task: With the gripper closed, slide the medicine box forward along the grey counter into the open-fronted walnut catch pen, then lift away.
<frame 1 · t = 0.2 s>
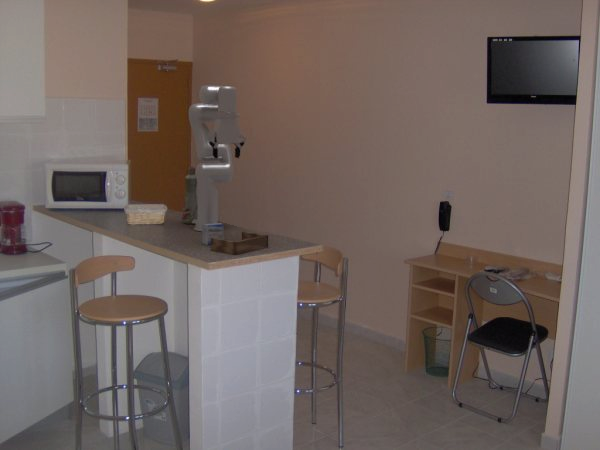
hand: (226, 157, 299), 36 cm above the countertop, tool pointing down, fingers open, 9 cm apart
catch pen: (238, 248, 295), on the countertop
medicine box: (212, 244, 303), on the countertop
bottle: (190, 223, 352), on the countertop
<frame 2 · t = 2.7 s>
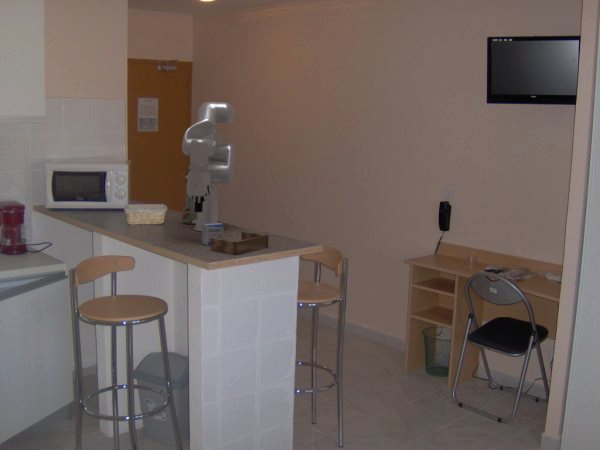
hand: (198, 211, 304), 13 cm above the countertop, tool pointing down, fingers closed
nothing on the countertop moved.
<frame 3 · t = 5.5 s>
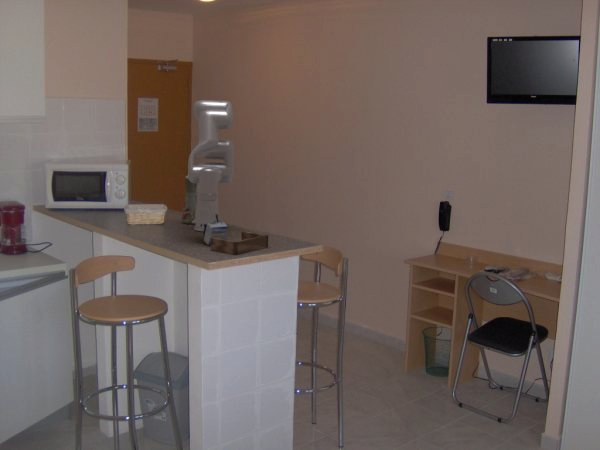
hand: (207, 240, 304), 1 cm above the countertop, tool pointing down, fingers closed
medicine box: (213, 242, 302), point 1 cm above the countertop, touching gripper
everything else where it was.
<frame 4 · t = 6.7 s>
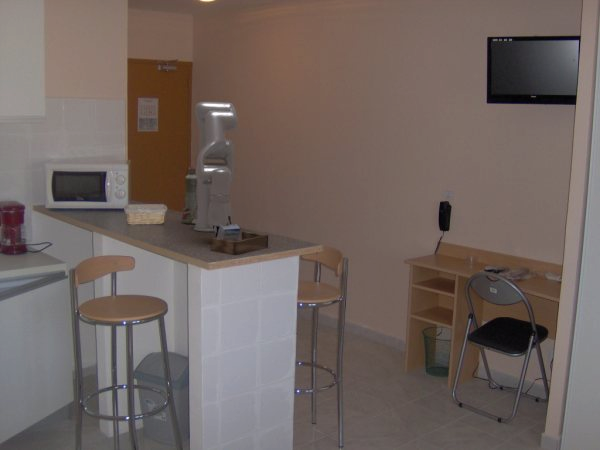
hand: (219, 242, 300), 1 cm above the countertop, tool pointing down, fingers closed
medicine box: (226, 244, 298), point 1 cm above the countertop, touching gripper
everything else where it was.
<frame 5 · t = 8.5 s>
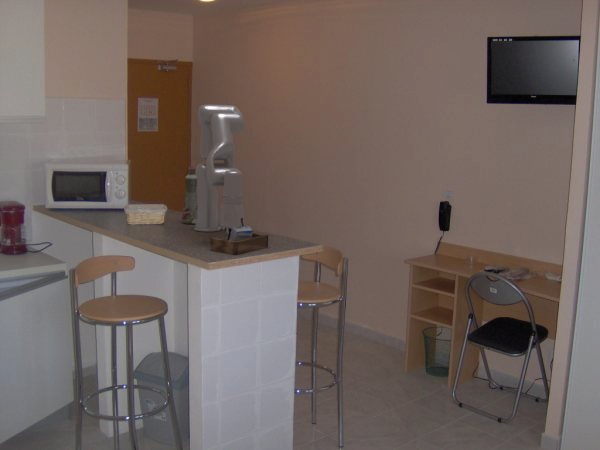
hand: (231, 244, 296), 1 cm above the countertop, tool pointing down, fingers closed
medicine box: (238, 247, 295), point 1 cm above the countertop, touching gripper
everything else where it was.
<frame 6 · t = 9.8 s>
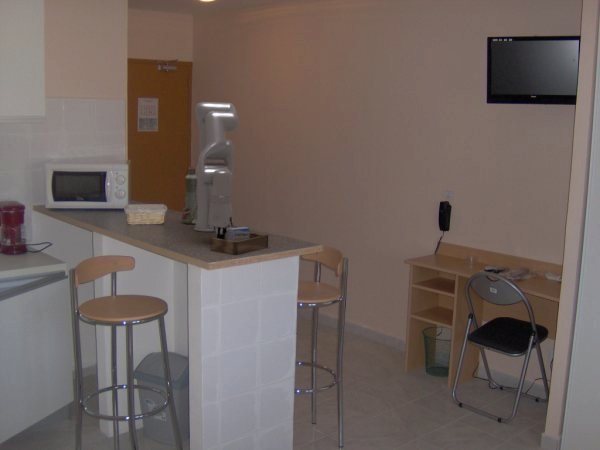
hand: (220, 243, 300), 1 cm above the countertop, tool pointing down, fingers closed
medicine box: (238, 249, 295), on the countertop
everything else where it was.
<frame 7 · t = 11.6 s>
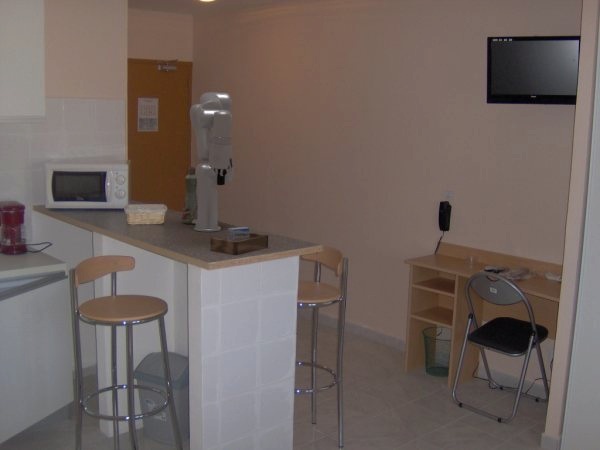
hand: (220, 184, 301), 25 cm above the countertop, tool pointing down, fingers closed
nothing on the countertop moved.
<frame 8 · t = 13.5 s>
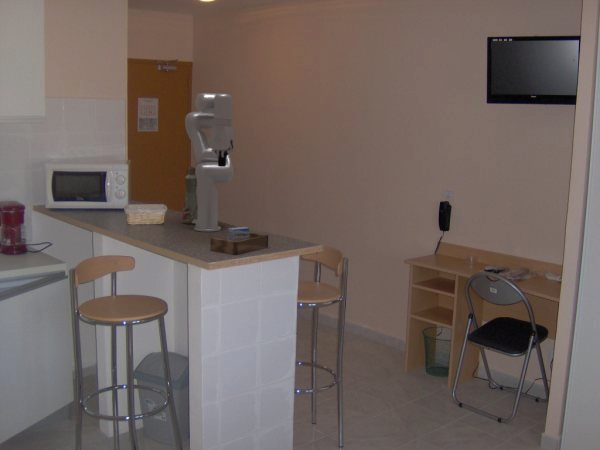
hand: (221, 166, 308), 32 cm above the countertop, tool pointing down, fingers closed
nothing on the countertop moved.
at the end: medicine box inside the target area on the catch pen (0.4 cm from its centre), point 0.0 cm above the catch pen's base; medicine box tilted 0° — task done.
